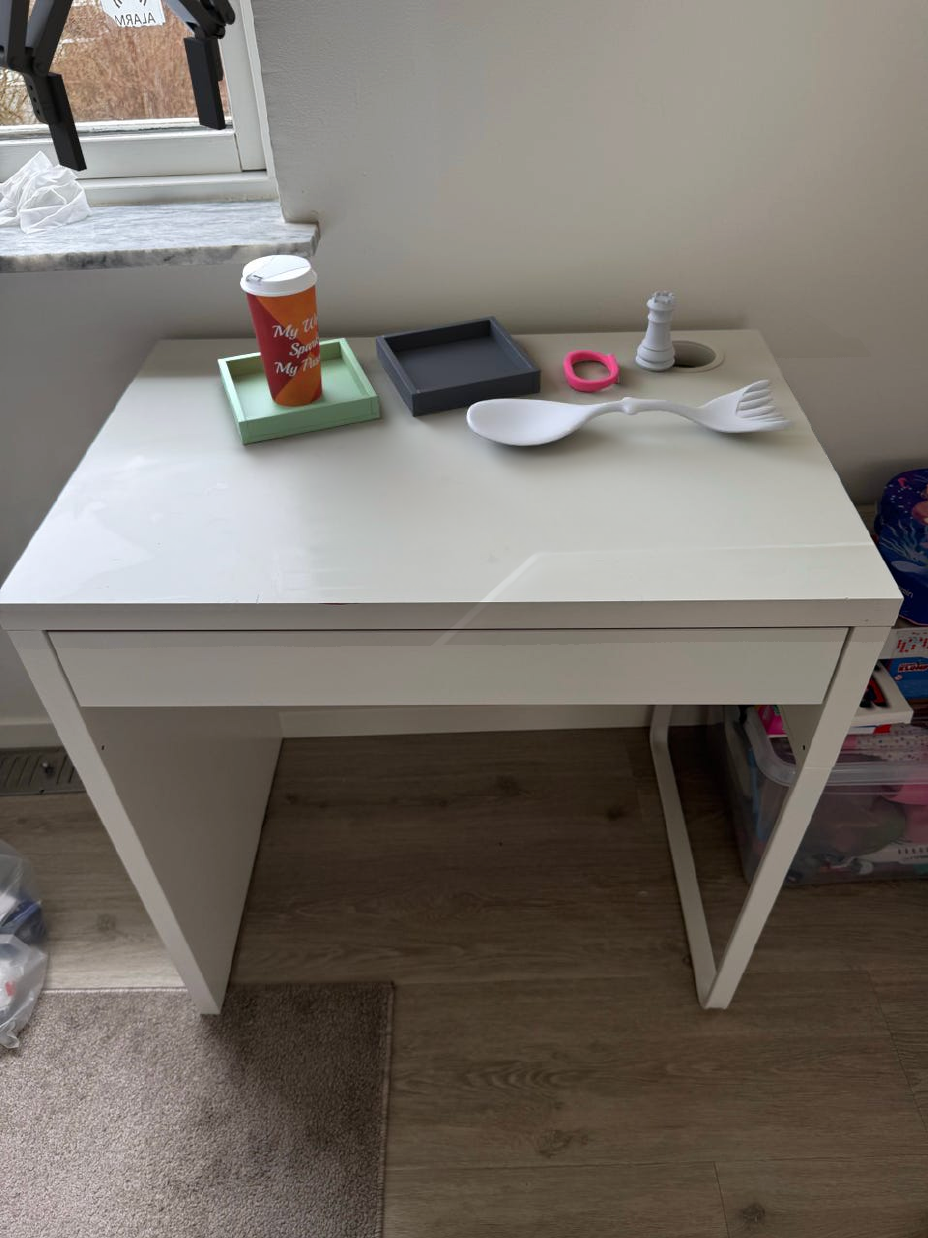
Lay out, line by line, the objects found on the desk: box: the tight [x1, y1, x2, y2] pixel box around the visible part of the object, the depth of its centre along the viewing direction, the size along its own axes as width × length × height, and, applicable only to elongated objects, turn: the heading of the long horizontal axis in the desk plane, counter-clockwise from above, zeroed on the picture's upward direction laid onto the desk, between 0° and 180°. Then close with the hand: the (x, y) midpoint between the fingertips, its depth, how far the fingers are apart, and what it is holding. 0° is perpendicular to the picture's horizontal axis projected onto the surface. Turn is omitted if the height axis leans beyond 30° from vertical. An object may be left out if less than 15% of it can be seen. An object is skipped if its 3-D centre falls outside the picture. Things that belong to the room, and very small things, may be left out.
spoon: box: [466, 379, 794, 447], centre depth 96 cm, size 9×32×4 cm, turn 91°
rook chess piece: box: [635, 290, 678, 372], centre depth 105 cm, size 4×4×8 cm
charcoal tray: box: [375, 315, 542, 417], centre depth 106 cm, size 15×15×3 cm
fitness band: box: [563, 349, 620, 392], centre depth 106 cm, size 8×6×2 cm
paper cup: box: [240, 254, 322, 406], centre depth 99 cm, size 8×8×14 cm
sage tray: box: [217, 337, 381, 445], centre depth 103 cm, size 15×15×3 cm
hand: (146, 146), depth 77 cm, fingers open, 13 cm apart
